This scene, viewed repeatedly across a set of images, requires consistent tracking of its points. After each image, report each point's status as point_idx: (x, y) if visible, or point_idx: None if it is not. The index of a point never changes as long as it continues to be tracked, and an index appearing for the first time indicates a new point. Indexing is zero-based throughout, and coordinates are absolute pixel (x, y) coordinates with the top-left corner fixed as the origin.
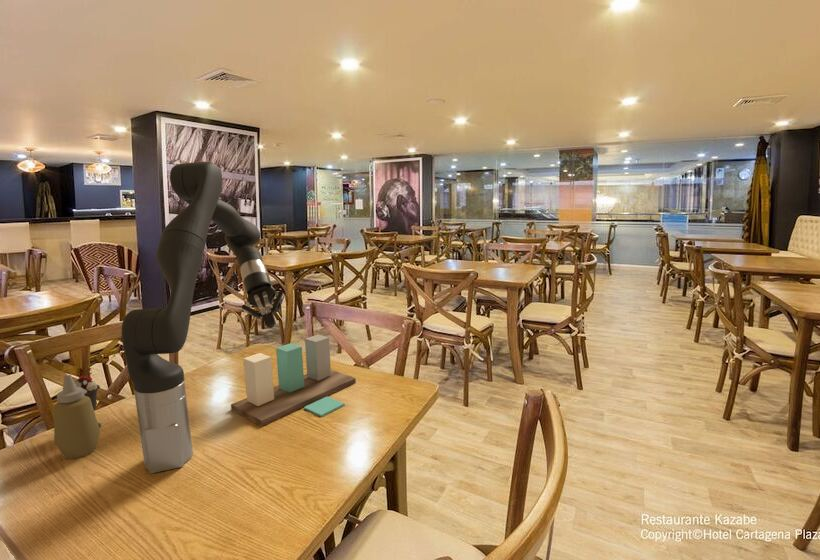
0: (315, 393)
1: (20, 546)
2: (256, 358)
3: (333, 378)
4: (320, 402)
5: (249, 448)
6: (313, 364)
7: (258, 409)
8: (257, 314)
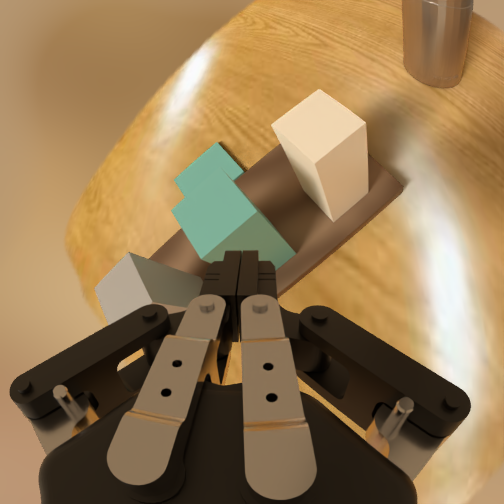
0: None
1: None
2: (318, 115)
3: None
4: None
5: (327, 72)
6: (184, 282)
7: None
8: (313, 310)
